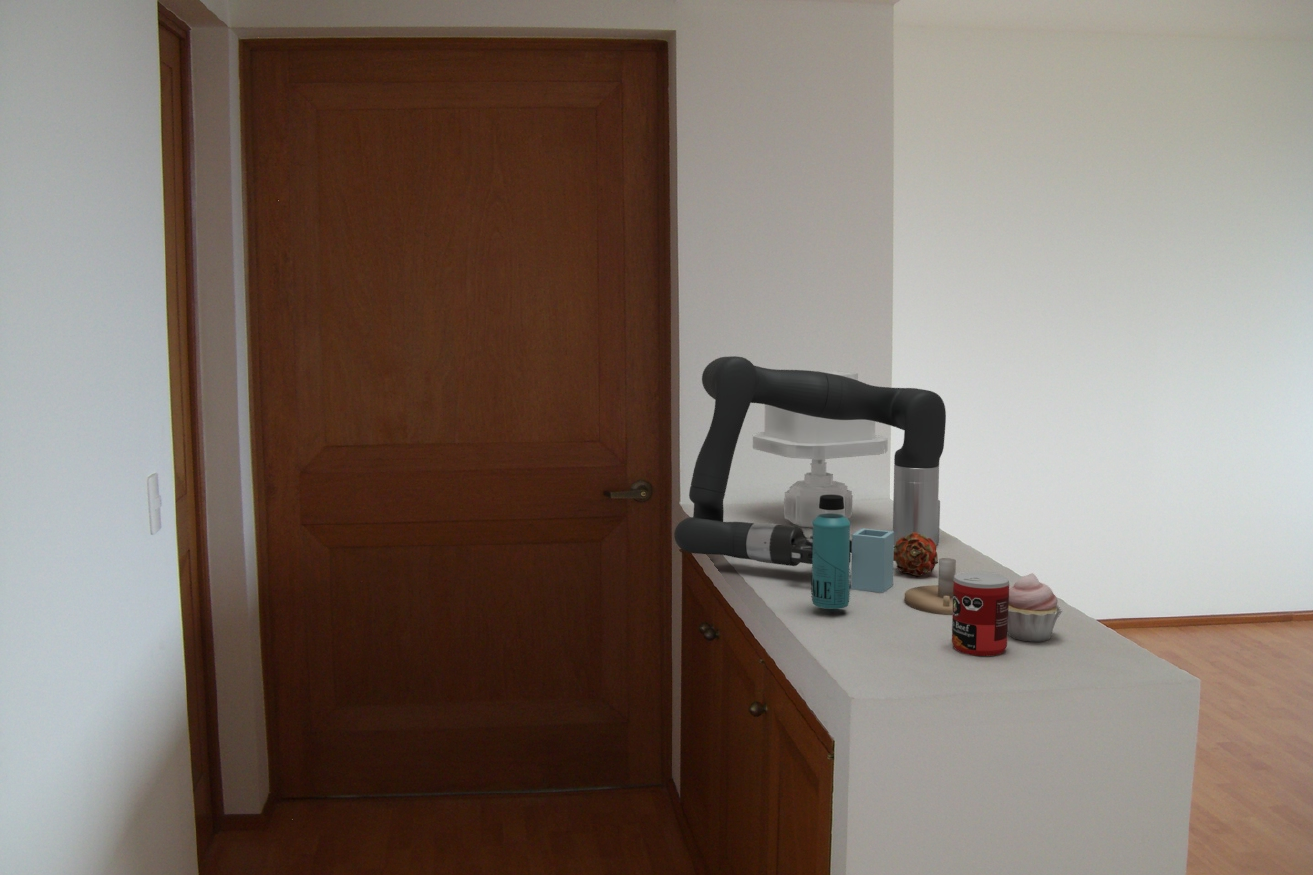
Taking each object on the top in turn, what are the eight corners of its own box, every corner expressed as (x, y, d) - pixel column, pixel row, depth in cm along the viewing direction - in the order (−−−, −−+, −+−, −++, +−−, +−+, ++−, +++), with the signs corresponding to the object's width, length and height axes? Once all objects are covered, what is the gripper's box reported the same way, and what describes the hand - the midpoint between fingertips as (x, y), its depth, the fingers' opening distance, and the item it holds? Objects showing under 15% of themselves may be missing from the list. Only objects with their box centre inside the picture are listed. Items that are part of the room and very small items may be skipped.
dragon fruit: (922, 590, 199) (900, 582, 211) (957, 561, 200) (933, 556, 212) (895, 554, 198) (874, 548, 210) (930, 525, 199) (907, 522, 211)
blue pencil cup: (861, 580, 200) (862, 528, 198) (892, 584, 197) (894, 531, 195) (850, 588, 194) (851, 534, 193) (883, 592, 191) (884, 538, 190)
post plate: (934, 587, 195) (936, 546, 194) (1004, 603, 184) (1006, 560, 183) (888, 602, 186) (889, 559, 185) (958, 620, 175) (960, 574, 174)
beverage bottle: (852, 608, 182) (854, 492, 179) (846, 619, 176) (848, 499, 173) (814, 605, 184) (816, 490, 182) (806, 616, 178) (808, 497, 175)
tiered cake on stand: (740, 517, 257) (740, 371, 253) (833, 507, 269) (835, 368, 264) (800, 539, 233) (802, 379, 229) (899, 527, 245) (903, 374, 240)
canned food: (944, 641, 165) (946, 571, 163) (994, 639, 165) (997, 570, 164) (962, 657, 157) (964, 584, 156) (1015, 656, 158) (1018, 583, 156)
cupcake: (1074, 638, 165) (1077, 575, 164) (1034, 649, 161) (1036, 584, 159) (1024, 623, 173) (1027, 563, 172) (985, 633, 168) (987, 571, 167)
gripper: (760, 531, 197) (845, 540, 189) (789, 517, 210) (870, 525, 202) (760, 571, 198) (844, 582, 190) (789, 555, 211) (869, 564, 203)
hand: (857, 552), depth 196 cm, fingers open, 8 cm apart
